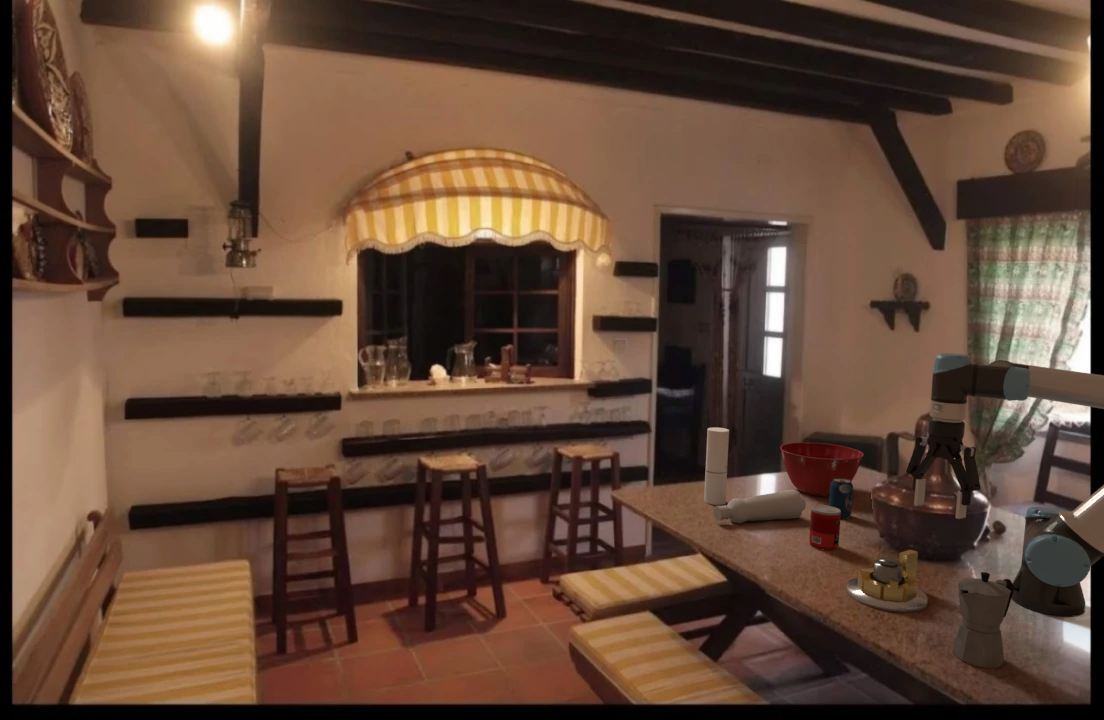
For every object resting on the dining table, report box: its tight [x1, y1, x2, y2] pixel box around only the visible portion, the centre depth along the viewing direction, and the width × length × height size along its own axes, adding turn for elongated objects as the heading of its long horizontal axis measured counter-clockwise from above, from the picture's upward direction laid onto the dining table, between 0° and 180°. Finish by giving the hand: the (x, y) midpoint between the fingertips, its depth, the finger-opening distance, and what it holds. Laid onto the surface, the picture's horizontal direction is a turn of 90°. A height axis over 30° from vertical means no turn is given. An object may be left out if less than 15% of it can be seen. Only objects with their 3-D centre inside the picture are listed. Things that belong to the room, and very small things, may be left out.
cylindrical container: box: [703, 427, 730, 506], centre depth 260 cm, size 7×7×25 cm
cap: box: [846, 556, 928, 613], centre depth 185 cm, size 18×18×9 cm
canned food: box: [808, 504, 841, 551], centre depth 219 cm, size 8×8×11 cm
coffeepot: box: [951, 571, 1015, 669], centre depth 155 cm, size 15×9×18 cm, turn 114°
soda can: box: [828, 478, 854, 519], centre depth 248 cm, size 7×7×12 cm
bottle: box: [712, 488, 807, 524], centre depth 241 cm, size 9×9×30 cm
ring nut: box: [857, 549, 919, 601], centre depth 186 cm, size 12×17×8 cm
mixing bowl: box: [779, 441, 865, 497], centre depth 276 cm, size 28×28×16 cm
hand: (939, 511), depth 182 cm, fingers open, 10 cm apart
